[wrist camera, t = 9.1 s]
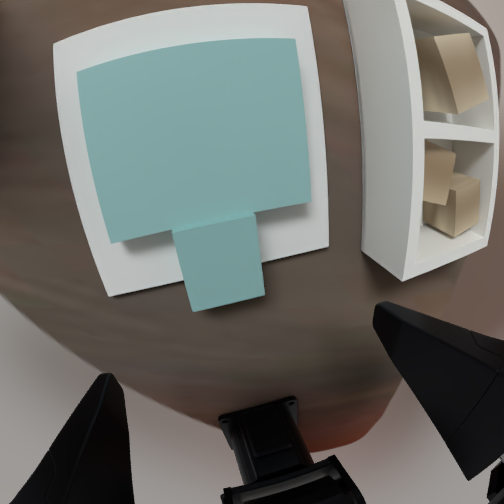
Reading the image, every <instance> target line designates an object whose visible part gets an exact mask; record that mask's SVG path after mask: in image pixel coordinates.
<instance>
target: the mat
mask: <svg viewBox="0 0 504 504" xmlns="http://www.w3.org/2000/svg"><path fill="white" fill-rule="evenodd" d="M248 38H292V39H295V40H296V47H297V54H298V61H299V68H300V76H301V84H302V92H303V101H304V110H305V120H306V130H307V141H308V153H309V167H310V182H311V199H312V202H307V203H302V204H296V205H290V206H285V207H279V208H274V209H269V210H263V211H258V212H253V213H254V214H255V215H256V223H257V231H258V239H259V248H260V256H261V262H266V261H270V260H274V259H278V258H283V257H287V256H291V255H295V254H300V253H304V252H308V251H312V250H316V249H321V248H325V247H329V222H328V188H327V168H326V151H325V138H324V126H323V115H322V105H321V95H320V86H319V78H318V70H317V63H316V56H315V49H314V43H313V37H312V31H311V25H310V19H309V14H308V9H307V6H298V5H286V4H264V3H239V4H217V5H205V6H195V7H187V8H179V9H173V10H166V11H161V12H155V13H150V14H146V15H141V16H137V17H132V18H128V19H124V20H121V21H117V22H113V23H110V24H107V25H103V26H100V27H97V28H94V29H91V30H88V31H85V32H82V33H80V34H77V35H74V36H72V37H69V38H67V39H64V40H62V41H59V42H57V43H55V44H53V56H54V76H55V89H56V99H57V108H58V115H59V122H60V129H61V135H62V141H63V146H64V152H65V157H66V162H67V166H68V171H69V175H70V180H71V184H72V188H73V192H74V196H75V199H76V203H77V207H78V210H79V214H80V217H81V221H82V224H83V227H84V230H85V233H86V237H87V240H88V243H89V246H90V249H91V252H92V254H93V257H94V260H95V263H96V265H97V268H98V271H99V273H100V276H101V279H102V281H103V284H104V286H105V289H106V291H107V294H108V296H114V295H119V294H123V293H128V292H132V291H137V290H142V289H146V288H151V287H155V286H160V285H164V284H169V283H173V282H178V281H182V280H184V279H183V275H182V271H181V268H180V264H179V260H178V256H177V252H176V248H175V244H174V240H173V236H172V230H168V231H163V232H159V233H155V234H150V235H146V236H142V237H138V238H133V239H129V240H125V241H121V242H117V243H113V244H111V242H110V239H109V236H108V233H107V229H106V226H105V222H104V219H103V215H102V212H101V208H100V204H99V200H98V197H97V193H96V189H95V184H94V180H93V176H92V171H91V167H90V162H89V157H88V152H87V147H86V141H85V136H84V130H83V123H82V117H81V109H80V102H79V93H78V83H77V72H78V71H81V70H83V69H86V68H89V67H92V66H95V65H98V64H101V63H105V62H108V61H111V60H115V59H118V58H122V57H126V56H130V55H134V54H138V53H142V52H147V51H151V50H156V49H161V48H166V47H172V46H178V45H184V44H191V43H199V42H207V41H217V40H229V39H248Z"/></svg>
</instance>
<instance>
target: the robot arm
mask: <svg viewBox="0 0 504 504" xmlns="http://www.w3.org/2000/svg"><path fill="white" fill-rule="evenodd" d="M372 323H373V328H374V330H375V331H376V333H377V335H378V337H379V339H380V340H381V342H382V344H383V346H384V348H385V350H386V351H387V353H388V355H389V357H390V359H391V360H392V362H393V363H394V365H395V366H396V368H397V369H398V371H399V372H400V374H401V375H402V377H403V378H404V380H405V381H406V382H407V384H408V385H409V387H410V388H411V390H412V391H413V393H414V394H415V396H416V397H417V399H418V400H419V402H420V404H421V405H422V407H423V408H424V410H425V411H426V413H427V414H428V416H429V417H430V419H431V421H432V422H433V424H434V425H435V427H436V429H437V430H438V432H439V433H440V435H441V436H442V438H443V440H444V441H445V443H446V445H447V447H448V448H449V450H450V452H451V453H452V455H453V457H454V458H455V460H456V462H457V463H458V465H459V467H460V468H461V470H462V472H463V474H464V475H465V477H466V479H467V480H468V481H469V480H471V479H472V478H474V477H475V476H476V475H478V474H479V473H480V472H482V471H483V470H484V469H486V468H487V467H488V466H489V465H491V464H492V463H493V462H494V461H496V460H497V459H498V458H500V459H501V461H500V462H499V463H498V464H497V465H496V466H495V468H494V469H493V470H492V471H491V475H490V482H489V487H488V493H487V498H488V500H489V501H490V502H489V503H488V504H504V340H500V339H496V338H492V337H489V336H486V335H483V334H480V333H477V332H474V331H471V330H470V331H469V330H468V329H465V328H462V327H460V326H457V325H454V324H451V323H448V322H445V321H442V320H440V319H437V318H434V317H431V316H428V315H425V314H423V313H420V312H417V311H414V310H411V309H408V308H405V307H403V306H400V305H397V304H394V303H391V302H388V301H383V302H381V303H378V304H376V306H375V309H374V316H373V322H372ZM218 421H219V424H220V427H221V429H222V431H223V433H224V435H225V437H226V439H227V442H228V444H229V446H230V448H231V449H232V450H234V453H235V456H236V460H237V463H238V467H239V470H240V474H241V476H242V480H243V483H244V485H242V486H238V487H233V488H231V487H228V488H224V489H223V490H224V494H222V495H221V500H222V504H366V502H365V500H364V497H363V496H362V494H361V492H360V490H359V489H358V487H357V486H356V485H355V483H354V482H353V480H352V479H351V478H350V476H349V475H348V473H347V472H346V470H345V469H344V468H343V466H342V465H341V463H340V462H339V460H338V459H337V457H336V456H335V455H332V456H330V457H328V458H327V459H325V460H322V461H320V462H317V463H315V464H314V462H313V460H312V457H311V455H310V453H309V451H308V449H307V447H306V445H305V442H304V440H303V438H302V436H301V434H300V432H299V430H298V427H297V400H296V398H295V397H294V396H291V397H287V398H284V399H281V400H278V401H274V402H271V403H267V404H264V405H260V406H257V407H253V408H249V409H245V410H241V411H237V412H233V413H229V414H225V415H221V416H219V417H218ZM9 504H135V502H134V494H133V484H132V473H131V461H130V442H129V431H128V423H127V416H126V408H125V399H124V393H123V389H122V387H121V386H120V384H119V383H118V381H117V380H116V378H115V377H114V375H113V374H112V373H103V374H100V375H99V376H98V377H97V379H96V380H95V381H94V383H93V384H92V385H91V387H90V388H89V390H88V391H87V393H86V394H85V396H84V397H83V398H82V400H81V401H80V403H79V404H78V406H77V407H76V409H75V410H74V412H73V413H72V414H71V416H70V417H69V419H68V420H67V422H66V424H65V425H64V427H63V428H62V430H61V431H60V433H59V434H58V436H57V437H56V439H55V440H54V442H53V443H52V445H51V447H50V448H49V451H47V453H46V454H45V456H44V457H43V459H42V460H41V462H40V464H39V465H38V467H37V468H36V470H35V471H34V472H33V474H32V475H31V476H30V478H29V479H28V480H27V482H26V483H25V484H24V486H23V487H22V488H21V490H20V491H19V492H18V494H17V495H16V496H15V498H14V499H13V500H12V502H11V503H9Z"/></svg>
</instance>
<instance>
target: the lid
mask: <svg viewBox="0 0 504 504" xmlns="http://www.w3.org/2000/svg"><path fill="white" fill-rule="evenodd" d="M77 83H78V93H79V102H80V109H81V117H82V123H83V130H84V136H85V141H86V147H87V152H88V157H89V162H90V167H91V171H92V176H93V180H94V184H95V189H96V193H97V197H98V200H99V204H100V208H101V212H102V215H103V219H104V222H105V226H106V229H107V233H108V236H109V239H110V242H111V244H113V243H117V242H121V241H125V240H129V239H133V238H138V237H142V236H146V235H150V234H155V233H159V232H163V231H168V230H172V236H173V240H174V244H175V248H176V252H177V256H178V260H179V264H180V268H181V271H182V275H183V279H184V283H185V286H186V290H187V293H188V297H189V300H190V304H191V307H192V311H193V312H196V311H200V310H204V309H209V308H213V307H217V306H222V305H226V304H230V303H234V302H239V301H243V300H247V299H251V298H255V297H259V296H263V295H265V291H264V282H263V273H262V265H261V256H260V248H259V239H258V231H257V223H256V215H255V214H254V213H253V212H258V211H263V210H269V209H274V208H279V207H285V206H290V205H296V204H302V203H307V202H312V199H311V182H310V167H309V153H308V141H307V130H306V120H305V110H304V101H303V92H302V84H301V76H300V68H299V61H298V54H297V47H296V40H295V39H292V38H248V39H229V40H217V41H207V42H199V43H191V44H184V45H178V46H172V47H166V48H161V49H156V50H151V51H147V52H142V53H138V54H134V55H130V56H126V57H122V58H118V59H115V60H111V61H108V62H105V63H101V64H98V65H95V66H92V67H89V68H86V69H83V70H81V71H78V72H77Z"/></svg>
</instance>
